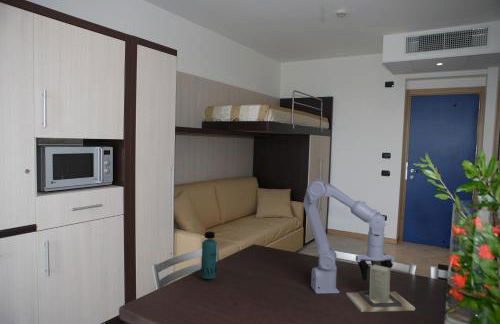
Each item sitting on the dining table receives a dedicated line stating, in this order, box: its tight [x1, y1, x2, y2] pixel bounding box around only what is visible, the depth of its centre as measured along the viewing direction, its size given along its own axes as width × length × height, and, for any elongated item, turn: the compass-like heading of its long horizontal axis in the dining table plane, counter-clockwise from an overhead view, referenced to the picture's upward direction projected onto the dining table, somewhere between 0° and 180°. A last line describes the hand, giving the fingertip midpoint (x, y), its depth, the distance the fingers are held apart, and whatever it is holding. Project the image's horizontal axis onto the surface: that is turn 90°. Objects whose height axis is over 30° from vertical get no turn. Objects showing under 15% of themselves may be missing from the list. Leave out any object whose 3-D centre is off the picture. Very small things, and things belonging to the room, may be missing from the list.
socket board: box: [346, 290, 416, 313], centre depth 125 cm, size 20×13×2 cm, turn 96°
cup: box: [370, 253, 386, 266], centre depth 156 cm, size 8×7×8 cm
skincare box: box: [369, 265, 391, 303], centre depth 124 cm, size 6×4×12 cm
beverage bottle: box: [200, 231, 218, 280], centre depth 141 cm, size 6×7×20 cm
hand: (373, 279), depth 129 cm, fingers open, 7 cm apart
